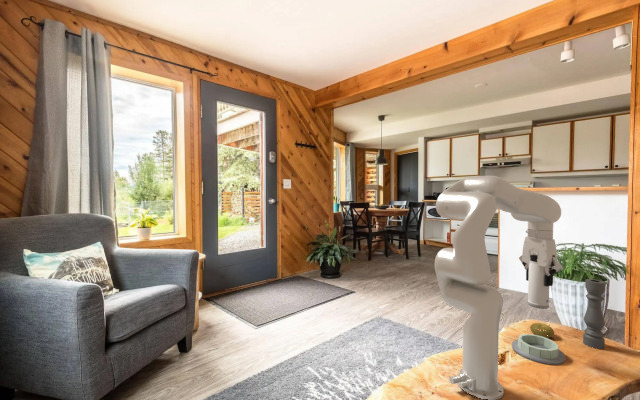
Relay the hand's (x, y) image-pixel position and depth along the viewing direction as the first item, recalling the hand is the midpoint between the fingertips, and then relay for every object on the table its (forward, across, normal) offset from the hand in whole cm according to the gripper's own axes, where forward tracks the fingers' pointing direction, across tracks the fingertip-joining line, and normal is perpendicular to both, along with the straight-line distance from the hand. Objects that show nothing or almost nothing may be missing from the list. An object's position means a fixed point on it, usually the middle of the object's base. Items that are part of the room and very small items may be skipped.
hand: (539, 282), depth 112 cm
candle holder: (+26, +2, +26) cm, 37 cm away
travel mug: (+9, 0, 0) cm, 9 cm away
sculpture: (+26, -10, +15) cm, 32 cm away
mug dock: (+26, 0, 0) cm, 26 cm away
